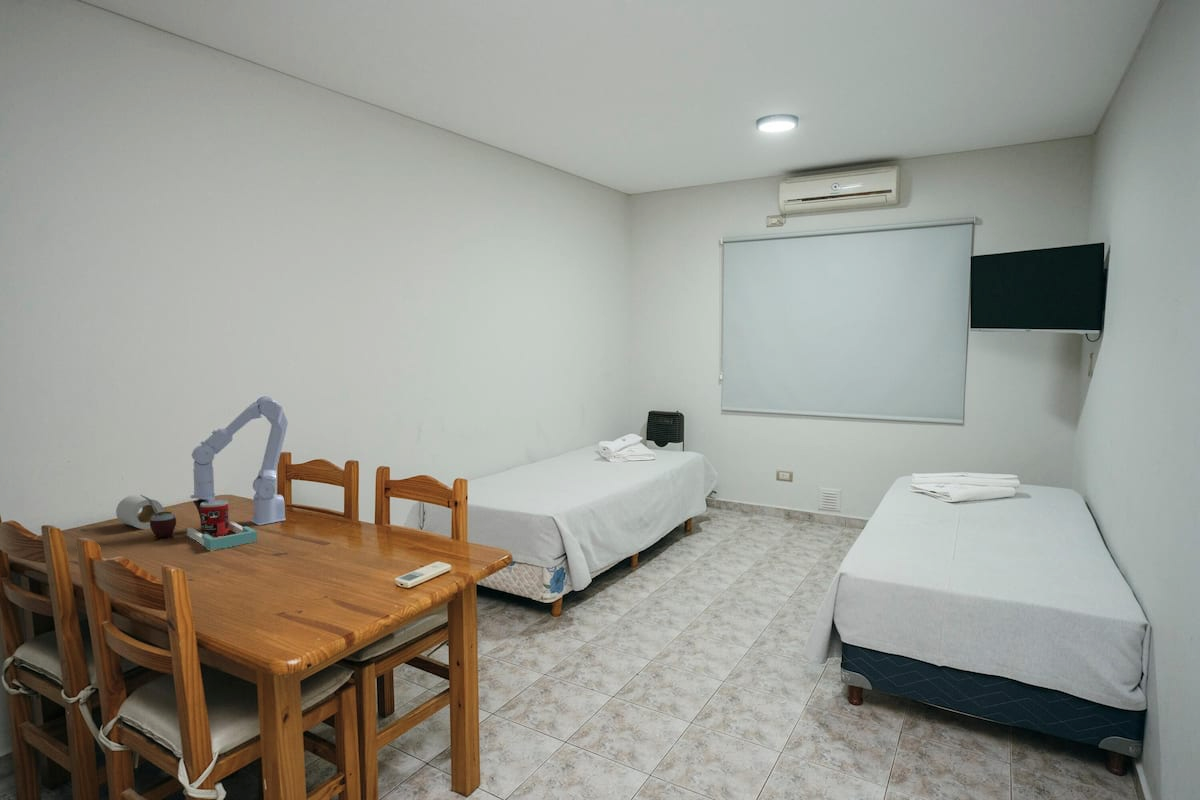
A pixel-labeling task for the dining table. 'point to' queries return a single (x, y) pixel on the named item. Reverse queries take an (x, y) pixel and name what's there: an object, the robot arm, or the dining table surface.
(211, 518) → the canned food
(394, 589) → the dining table surface
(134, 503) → the toilet paper
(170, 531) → the mate gourd
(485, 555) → the dining table surface
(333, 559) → the dining table surface
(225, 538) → the teal white rectangular tray
